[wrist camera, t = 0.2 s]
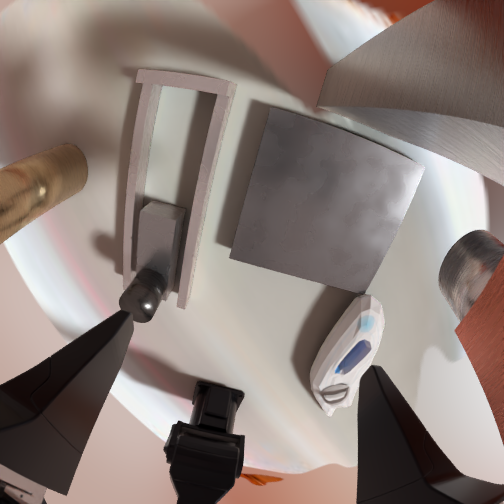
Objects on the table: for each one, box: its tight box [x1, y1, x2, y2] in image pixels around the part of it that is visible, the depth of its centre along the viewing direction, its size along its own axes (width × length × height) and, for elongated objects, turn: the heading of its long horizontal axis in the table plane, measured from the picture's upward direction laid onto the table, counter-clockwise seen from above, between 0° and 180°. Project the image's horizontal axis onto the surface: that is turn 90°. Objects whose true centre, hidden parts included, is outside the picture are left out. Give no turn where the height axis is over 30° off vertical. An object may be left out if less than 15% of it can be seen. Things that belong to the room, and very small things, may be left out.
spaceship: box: [310, 294, 385, 417], centre depth 28 cm, size 23×7×4 cm, turn 2°
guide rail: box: [123, 69, 237, 309], centre depth 21 cm, size 20×6×3 cm, turn 165°
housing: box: [0, 144, 88, 244], centre depth 16 cm, size 5×5×14 cm
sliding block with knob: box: [119, 200, 186, 323], centre depth 22 cm, size 8×3×6 cm, turn 165°
